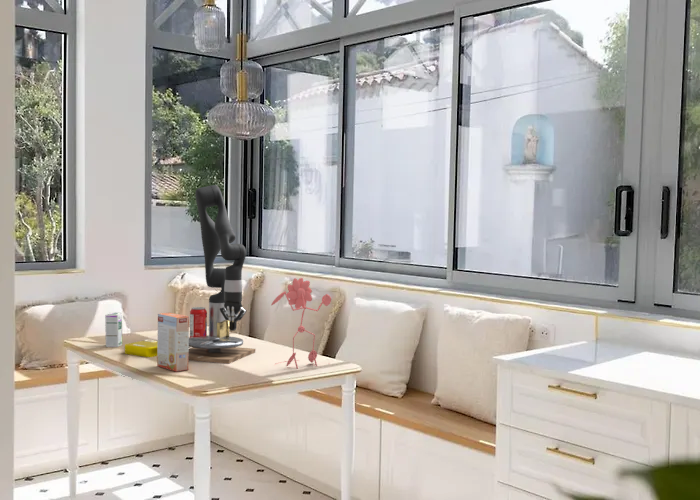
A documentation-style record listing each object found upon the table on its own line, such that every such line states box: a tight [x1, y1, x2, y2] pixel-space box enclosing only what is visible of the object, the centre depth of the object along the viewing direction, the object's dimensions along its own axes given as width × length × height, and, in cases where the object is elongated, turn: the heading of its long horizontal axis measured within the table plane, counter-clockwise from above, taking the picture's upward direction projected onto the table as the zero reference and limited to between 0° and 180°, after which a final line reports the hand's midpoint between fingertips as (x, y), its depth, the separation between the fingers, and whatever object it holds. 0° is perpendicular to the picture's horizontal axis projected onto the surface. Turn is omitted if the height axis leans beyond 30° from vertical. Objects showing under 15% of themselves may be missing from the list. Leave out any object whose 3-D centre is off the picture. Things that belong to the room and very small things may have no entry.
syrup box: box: [104, 312, 123, 348], centre depth 340 cm, size 6×6×14 cm
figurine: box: [270, 277, 332, 370], centre depth 309 cm, size 15×26×35 cm, turn 127°
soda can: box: [189, 306, 208, 339], centre depth 360 cm, size 8×8×15 cm
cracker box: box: [156, 312, 190, 373], centre depth 297 cm, size 14×6×21 cm, turn 43°
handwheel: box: [189, 320, 244, 349], centre depth 324 cm, size 24×24×8 cm
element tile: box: [124, 339, 158, 358], centre depth 327 cm, size 15×15×5 cm
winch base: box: [188, 346, 256, 364], centre depth 324 cm, size 27×26×5 cm
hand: (232, 330), depth 332 cm, fingers closed
